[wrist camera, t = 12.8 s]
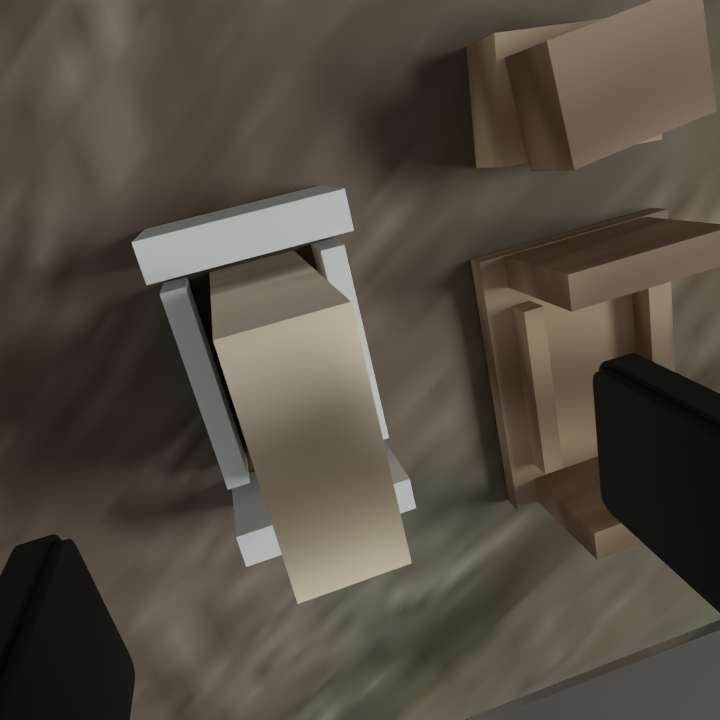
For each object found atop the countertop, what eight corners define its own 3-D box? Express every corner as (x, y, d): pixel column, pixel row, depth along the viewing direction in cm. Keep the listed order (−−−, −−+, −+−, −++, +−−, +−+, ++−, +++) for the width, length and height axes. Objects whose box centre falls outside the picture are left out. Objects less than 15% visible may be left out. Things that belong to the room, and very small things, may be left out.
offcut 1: (462, 48, 21) (494, 32, 19) (615, 27, 22) (663, 10, 20) (472, 168, 22) (503, 167, 20) (616, 142, 23) (661, 139, 21)
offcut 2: (504, 57, 19) (546, 40, 17) (641, 5, 19) (700, -18, 17) (531, 171, 20) (574, 169, 18) (658, 118, 21) (716, 110, 18)
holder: (144, 228, 20) (131, 242, 16) (319, 185, 21) (344, 188, 17) (239, 504, 24) (246, 566, 20) (383, 457, 24) (416, 508, 21)
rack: (470, 259, 23) (537, 281, 18) (653, 208, 24) (760, 216, 19) (508, 500, 27) (573, 570, 22) (665, 445, 28) (757, 500, 23)
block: (209, 272, 21) (212, 340, 12) (293, 250, 21) (351, 301, 13) (264, 447, 23) (297, 604, 15) (338, 424, 24) (411, 563, 15)
